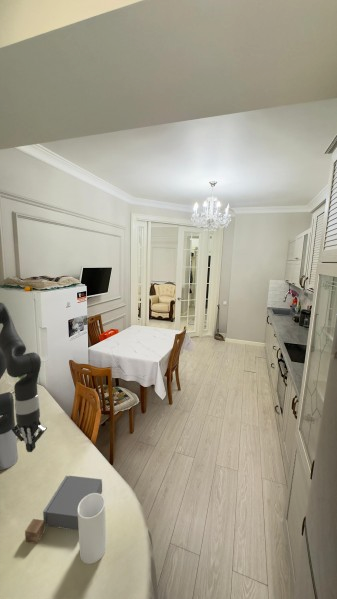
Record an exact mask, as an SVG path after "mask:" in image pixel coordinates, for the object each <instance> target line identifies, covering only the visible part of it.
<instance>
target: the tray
mask: <svg viewBox="0 0 337 599" xmlns="http://www.w3.org/2000/svg"><path fill="white" fill-rule="evenodd" d="M68 477H69V475H65V477H64V478H63V480H62V481H61V483H60V485H59V486H58V488H57V489H56V491H55V492H54V494H53V495H52V496H51V499H50V500H49V502H48V503H47V505H46V506H45V508H44V509H43V511H42V514H43V515H42V516H43V520H44V526H47V514H46V512H47V510H48V509H49V507H50V505H51V504H52V502H53V501H54V499H55V497H56V496H57V494H58V493H59V491H60V489H61V488H62V486H63V485H64V483H65V481H66V480H67V478H68Z"/></svg>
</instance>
